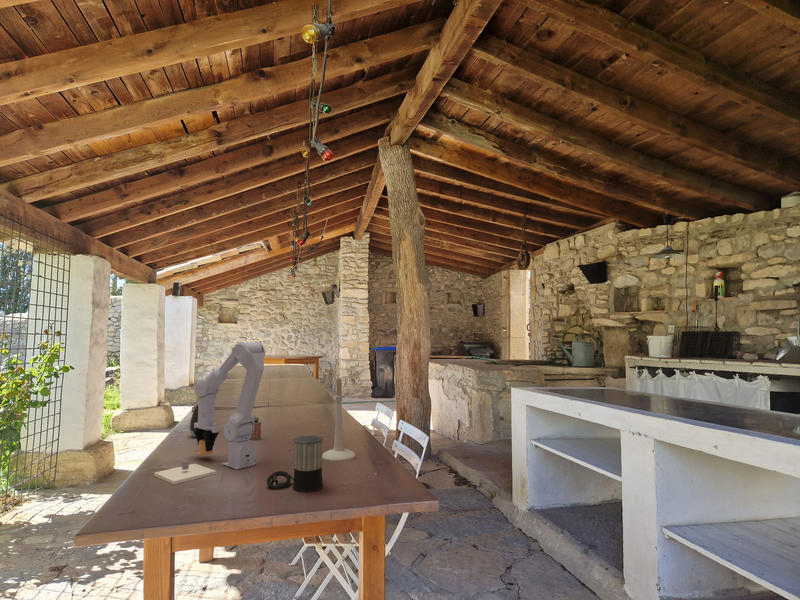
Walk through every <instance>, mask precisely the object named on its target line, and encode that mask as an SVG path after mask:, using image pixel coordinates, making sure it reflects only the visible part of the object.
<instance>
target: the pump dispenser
mask: <svg viewBox="0 0 800 600" xmlns="http://www.w3.org/2000/svg"><path fill="white" fill-rule="evenodd" d="M197 422H198V404H197V405H196V406H195V408H194V409H193V412H192V414H191V419H190V422H189V430H190V435H192V437H195V438H196V436H195V434H194V433H193V431H194V430H197V428H194V423H197Z"/></svg>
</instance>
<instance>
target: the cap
mask: <svg viewBox="0 0 800 600" xmlns="http://www.w3.org/2000/svg"><path fill="white" fill-rule="evenodd" d="M213 451H214V448H213V449H212V451H208V452H207V451H206V448H205V440H204V439H202V440H199V447H198V452H197V453H198V455H199V456H208V455H209V456H210V455H212V454H213Z"/></svg>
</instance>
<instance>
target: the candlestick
mask: <svg viewBox="0 0 800 600" xmlns="http://www.w3.org/2000/svg"><path fill="white" fill-rule="evenodd" d="M342 380H343V379H342V378H340V377H337V378H336V388H335V390H336V395H334V396H333V397H334V398H335V401H336V405H335V406H336V409H335V425H334V441H333V442H334V443H333V448H332V449H329V450H326V451H325V452H322V460H323V459H324V461H326V460H329V461H328V462H346V460H347V461H350V460H353V459H355V458H356V457H357V456H356V453H355V452H354V451H353V450H350V449H348V448H345V447H344V434H343V430H344V429H343V410H342V409H343V408H342V406H343V405H342V402H343V399H344V398H343V397H344V395H342V389H343V387H342V385H343V383H342V382H343V381H342Z"/></svg>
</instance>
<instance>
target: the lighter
mask: <svg viewBox="0 0 800 600" xmlns="http://www.w3.org/2000/svg"><path fill="white" fill-rule="evenodd" d="M252 416H253V417H254V418H255V421H254V432H253V434H251V438H249V439H250V441H253V440H254V441H261V440H262V437H261V435H262V429H261V428H262V421H259V420H260V419H259V418H260V417H258V416H255V415H252ZM260 439H261V440H260Z"/></svg>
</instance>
